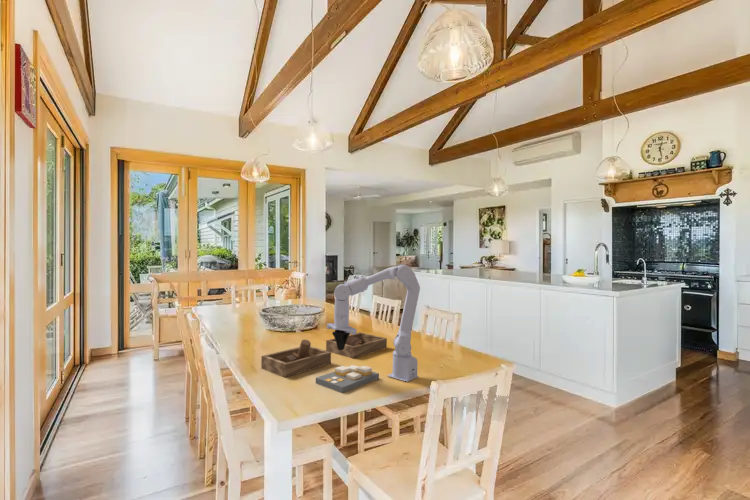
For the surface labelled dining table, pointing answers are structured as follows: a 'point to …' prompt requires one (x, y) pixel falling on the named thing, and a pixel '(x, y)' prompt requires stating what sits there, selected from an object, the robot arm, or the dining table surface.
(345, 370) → the button
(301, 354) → the wooden block set
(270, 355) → the trays
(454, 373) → the dining table surface
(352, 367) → the button
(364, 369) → the button
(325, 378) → the board
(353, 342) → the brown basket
